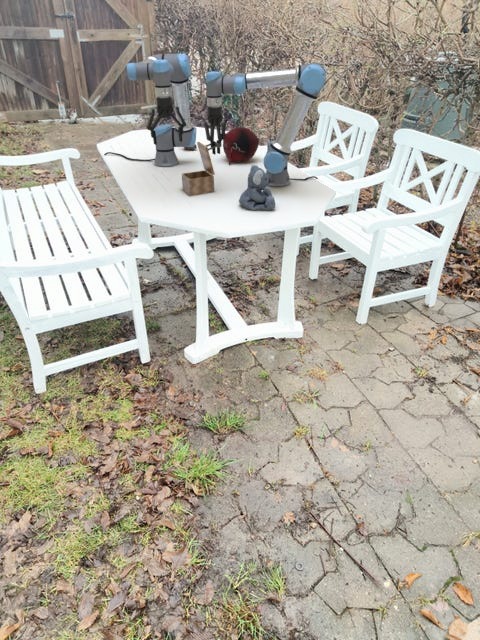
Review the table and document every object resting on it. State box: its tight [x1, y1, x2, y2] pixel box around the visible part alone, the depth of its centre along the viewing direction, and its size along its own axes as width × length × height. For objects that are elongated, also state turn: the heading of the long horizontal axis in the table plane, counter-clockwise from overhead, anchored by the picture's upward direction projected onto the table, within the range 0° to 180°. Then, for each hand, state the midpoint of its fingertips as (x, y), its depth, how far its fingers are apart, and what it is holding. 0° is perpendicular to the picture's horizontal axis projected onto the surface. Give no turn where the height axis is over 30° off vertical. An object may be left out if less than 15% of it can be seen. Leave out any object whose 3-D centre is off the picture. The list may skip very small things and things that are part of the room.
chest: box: [181, 169, 215, 197], centre depth 247 cm, size 14×12×9 cm
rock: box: [183, 143, 198, 151], centre depth 322 cm, size 12×9×10 cm
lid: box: [196, 140, 221, 176], centre depth 243 cm, size 15×12×9 cm
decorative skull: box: [222, 126, 260, 166], centre depth 295 cm, size 21×24×25 cm
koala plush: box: [238, 164, 276, 211], centre depth 224 cm, size 17×18×20 cm
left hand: (168, 142), depth 229 cm, fingers open, 13 cm apart
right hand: (216, 153), depth 243 cm, fingers closed on lid, 2 cm apart
